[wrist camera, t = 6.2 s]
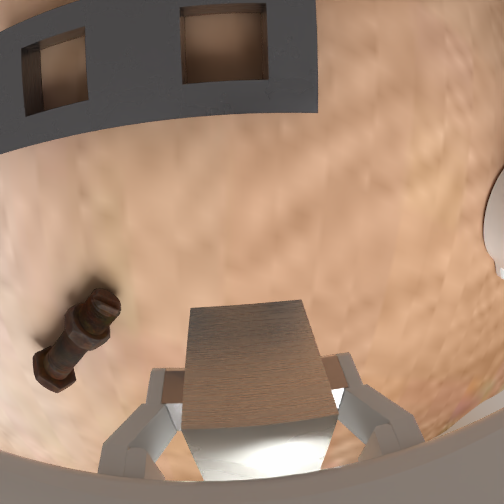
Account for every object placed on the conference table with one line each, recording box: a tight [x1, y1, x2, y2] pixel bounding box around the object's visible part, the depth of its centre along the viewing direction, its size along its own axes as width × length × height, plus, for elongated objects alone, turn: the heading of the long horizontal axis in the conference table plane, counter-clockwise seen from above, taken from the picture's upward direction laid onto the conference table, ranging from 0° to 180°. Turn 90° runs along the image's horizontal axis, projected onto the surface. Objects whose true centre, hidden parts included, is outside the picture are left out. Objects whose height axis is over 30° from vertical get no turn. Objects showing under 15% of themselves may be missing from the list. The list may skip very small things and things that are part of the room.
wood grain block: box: [181, 300, 339, 481], centre depth 10 cm, size 4×4×5 cm
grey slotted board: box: [0, 0, 318, 154], centre depth 18 cm, size 24×10×3 cm, turn 92°
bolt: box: [33, 289, 121, 393], centre depth 29 cm, size 6×5×15 cm
